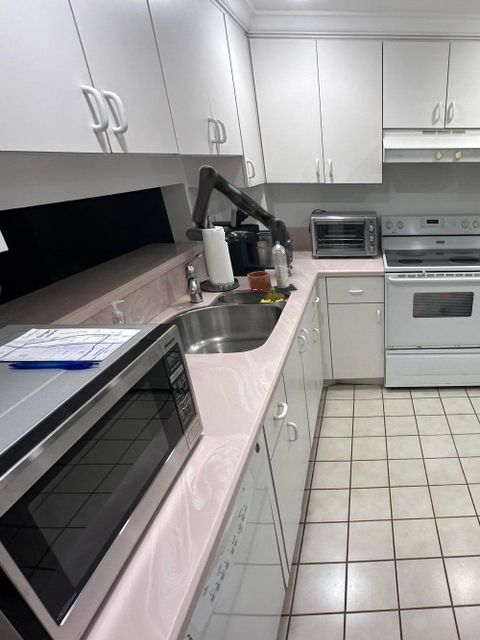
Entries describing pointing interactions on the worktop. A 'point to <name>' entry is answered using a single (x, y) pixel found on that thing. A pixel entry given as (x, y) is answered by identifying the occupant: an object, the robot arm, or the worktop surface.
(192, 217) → the robot arm
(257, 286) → the pot
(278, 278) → the water bottle
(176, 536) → the worktop surface
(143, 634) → the worktop surface
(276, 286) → the dish mat
